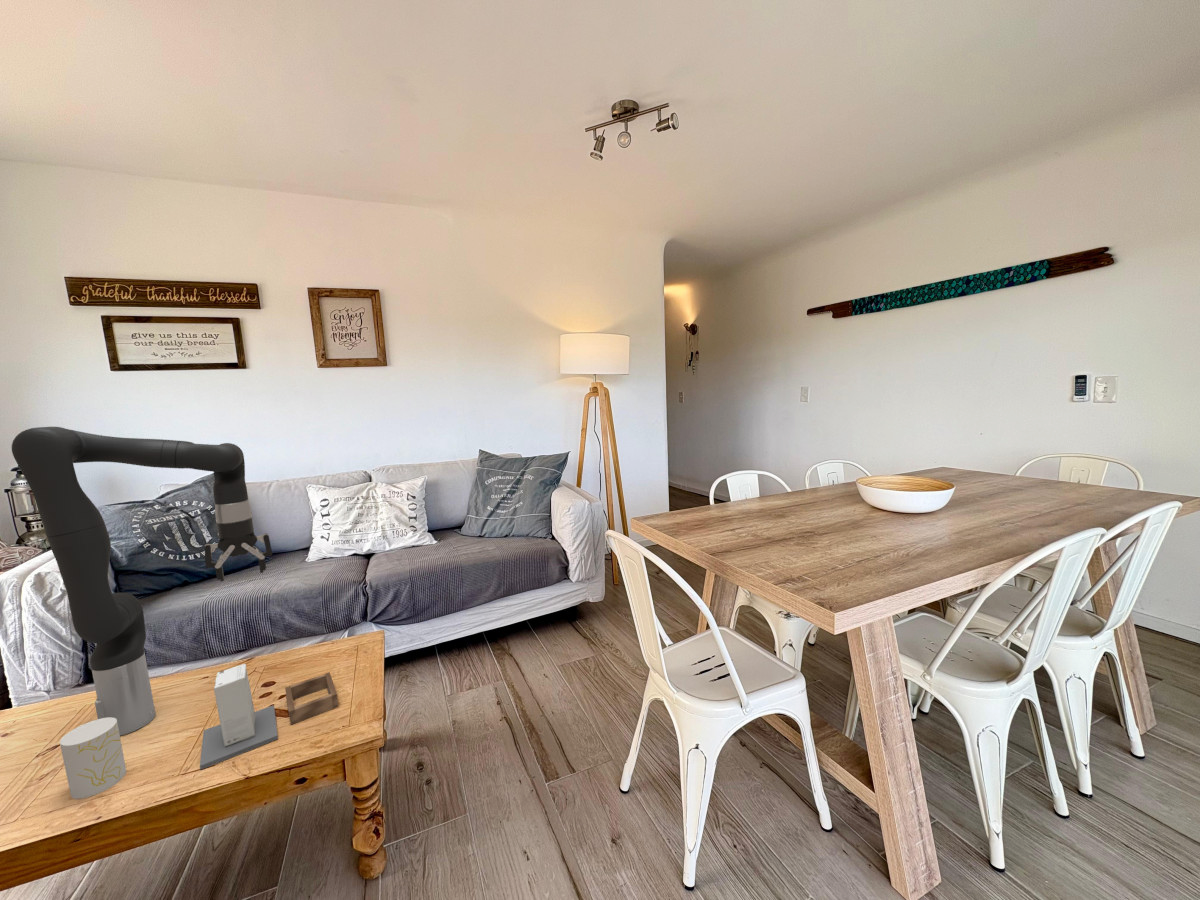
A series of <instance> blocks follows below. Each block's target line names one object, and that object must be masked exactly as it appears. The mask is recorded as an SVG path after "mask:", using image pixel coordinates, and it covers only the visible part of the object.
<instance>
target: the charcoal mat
mask: <svg viewBox="0 0 1200 900" xmlns="http://www.w3.org/2000/svg"><path fill="white" fill-rule="evenodd" d="M275 710H276V709H275V704H274V705H273V704H272V705H270V706H268V707H265V708H262V709H259V710H255V711H254V712H255V727H254V730H255V736H253V737H251V738H248V739H245V740H242V741H239V742H236V743H233V744H231V745H228V746H224V740H223V735H222V730H221V725H220V724H216V725H215V726H214V725H213V726H212V727H209V728H206V729H203V733H202V742H201V743H202V744H201V749H200V750H201V752H200V761H199V770H200V771H202V770H205V769H206V768H209V767H212V766H214V765H216V764H219V763H222V762H224V761H228V760H229V759H232V758H234V757H236V756H239V755H242V754H244V753H246V752H249V751H250V752H251V751H252V750H254V749H257V748H260V747H262V746H265V745H266V744H267V745H268V744H271V743H272V742H275V741H277V740H279V738H278V735H279V734H278V728H277V720H276V719H277V718H276V711H275ZM201 769H202V770H201Z"/></svg>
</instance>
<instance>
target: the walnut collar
mask: <svg viewBox="0 0 1200 900" xmlns="http://www.w3.org/2000/svg"><path fill="white" fill-rule="evenodd" d="M324 689H326V690H327V692H328V694H327V695H324V696H321V697H318V698H315V699H313V700H311V701H308V702H305V703H303V704H300V705H296V706H295V703H294V700H296V699H299V698H301V697H304V696H307V695H310V694H312V693H316V692H319V691H321V690H324ZM284 691H285V698H286V703H287V709H288V715H289V716H288V717H289V722H290V726H292V725H294V724H296V723H299V722H302V721H305V720H307V719H309V718H312V717H315V716H317V715H320V714H323V713H325V712H328V711H330V710H333V709H336V708H338V707H339V700H338V693H337V691H336V686H335V684H334V680H333V677H332V675H331V673H330V672H326V673H323V674H321V675H317V676H314V677H311V678H309V679H306V680H303V681H300V682H297V683H294V684H291V685H288V686H285V687H284Z"/></svg>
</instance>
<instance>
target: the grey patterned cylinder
mask: <svg viewBox="0 0 1200 900" xmlns="http://www.w3.org/2000/svg"><path fill="white" fill-rule="evenodd" d="M59 745H60V750H61V755H62V760H63V764H64V768H65V775H66V778H67V783H68V789H69V793H70V798H72V799H74V800H82V799H86V798H89V797H93V796H95V795H98V794H100V793H103V792H104V791H107V790H108V789H110V788H112V787H114V786H115V785H117V783H119V782H120V781H121V780H122V779H123V778H124V777H125V775H126V773H127V767H126V761H125V757H124V751H123V747H122V740H121V736H120V734H119V729H118V724H117V719H116V718H113V717H107V718H101V719H98V718H97V719H94V720H92V721H88V722H86V723H83V724H81V725H79V726H77V727H75V728H73V729H72V730H70V731H69V732H67V733H66V734H65V735H63V737H61V738H60V740H59Z"/></svg>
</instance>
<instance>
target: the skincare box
mask: <svg viewBox="0 0 1200 900" xmlns="http://www.w3.org/2000/svg"><path fill="white" fill-rule="evenodd" d="M214 679H215V680H214V681H215V684H214V687H213V690H214V696H215V702H216V708H217V714H218V719H219V725H221V730H222V735H223V740H224V746H228V745H231V744H233V743H236V742H239V741H242V740H245V739H248V738H251V737H253V736H255V730H254V727H255V712H256V711H255V707H254V701H253V696H252V695H253V694H252V691H251V686H250V681H249V675H248V669H247V665H246V663H242V664H239V665H237V666H233V667H230V668H227V669H224V670H221V671H218V672H217V673H216V678H214Z"/></svg>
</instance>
